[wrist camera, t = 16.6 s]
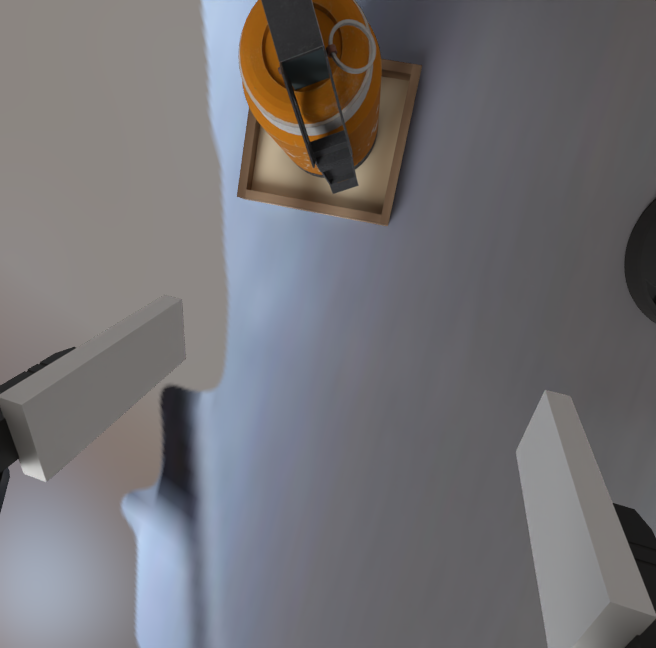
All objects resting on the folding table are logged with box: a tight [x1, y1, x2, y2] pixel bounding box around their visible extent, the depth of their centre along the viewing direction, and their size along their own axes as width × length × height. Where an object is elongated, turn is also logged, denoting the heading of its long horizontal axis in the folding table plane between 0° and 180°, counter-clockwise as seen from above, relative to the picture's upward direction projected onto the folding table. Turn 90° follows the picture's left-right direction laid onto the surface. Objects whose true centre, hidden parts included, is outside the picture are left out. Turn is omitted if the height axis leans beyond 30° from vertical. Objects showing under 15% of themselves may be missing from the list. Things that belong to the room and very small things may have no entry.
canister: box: [238, 0, 382, 194], centre depth 29 cm, size 9×11×20 cm
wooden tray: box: [237, 59, 422, 226], centre depth 38 cm, size 15×14×2 cm
